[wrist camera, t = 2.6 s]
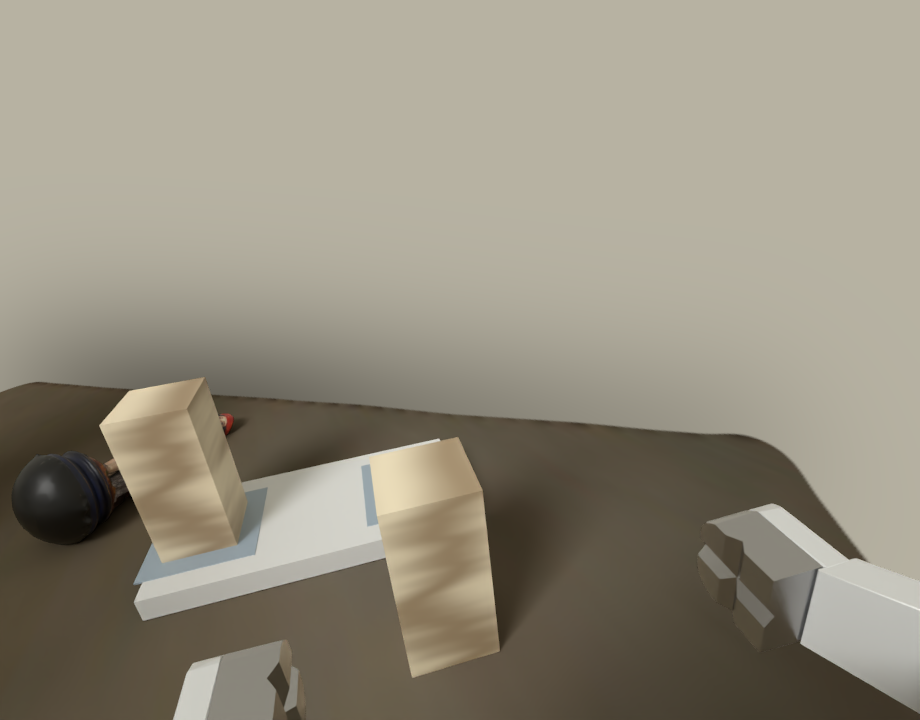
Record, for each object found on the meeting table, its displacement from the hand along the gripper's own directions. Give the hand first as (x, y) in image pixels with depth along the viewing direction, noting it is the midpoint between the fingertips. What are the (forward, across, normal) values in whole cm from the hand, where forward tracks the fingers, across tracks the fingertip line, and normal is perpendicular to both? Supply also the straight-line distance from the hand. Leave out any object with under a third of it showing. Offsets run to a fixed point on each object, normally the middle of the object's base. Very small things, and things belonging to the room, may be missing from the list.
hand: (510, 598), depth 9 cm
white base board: (+23, -8, -16) cm, 29 cm away
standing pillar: (+23, -15, -14) cm, 31 cm away
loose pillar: (+12, -1, -16) cm, 20 cm away
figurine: (+34, -22, -16) cm, 43 cm away
